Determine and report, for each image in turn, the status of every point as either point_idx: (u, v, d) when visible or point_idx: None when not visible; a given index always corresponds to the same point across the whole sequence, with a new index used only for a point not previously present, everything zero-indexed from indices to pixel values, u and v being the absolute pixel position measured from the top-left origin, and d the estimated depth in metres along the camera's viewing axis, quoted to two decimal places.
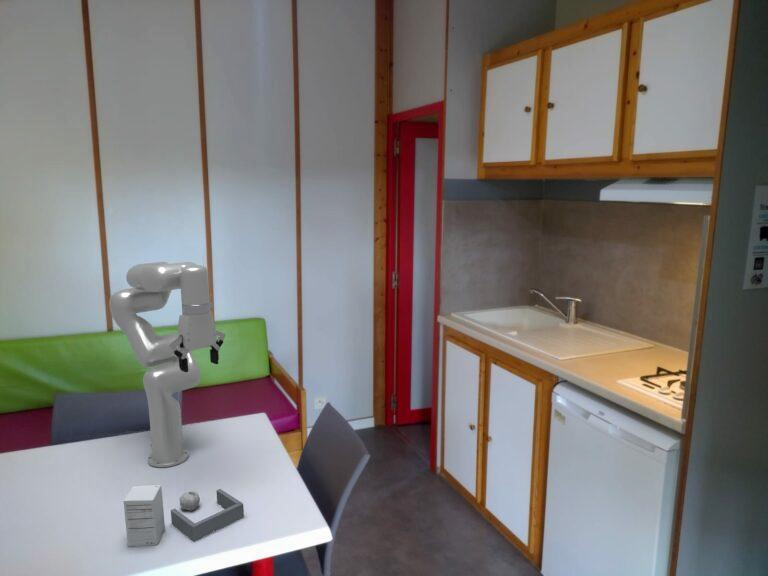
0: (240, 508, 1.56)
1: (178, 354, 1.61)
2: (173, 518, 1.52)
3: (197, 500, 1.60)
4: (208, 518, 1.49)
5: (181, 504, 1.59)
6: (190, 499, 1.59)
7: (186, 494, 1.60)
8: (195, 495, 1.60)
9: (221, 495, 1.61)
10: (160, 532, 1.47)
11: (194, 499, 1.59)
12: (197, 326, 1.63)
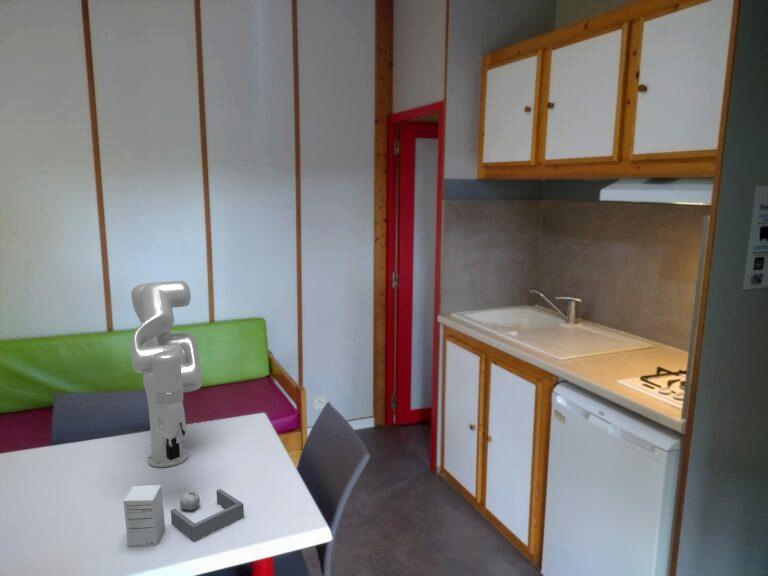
0: (240, 508, 1.56)
1: None
2: (173, 518, 1.52)
3: (197, 500, 1.60)
4: (208, 518, 1.49)
5: (181, 504, 1.59)
6: (190, 498, 1.59)
7: (186, 494, 1.60)
8: (195, 495, 1.60)
9: (221, 495, 1.61)
10: (160, 532, 1.47)
11: (194, 499, 1.59)
12: None
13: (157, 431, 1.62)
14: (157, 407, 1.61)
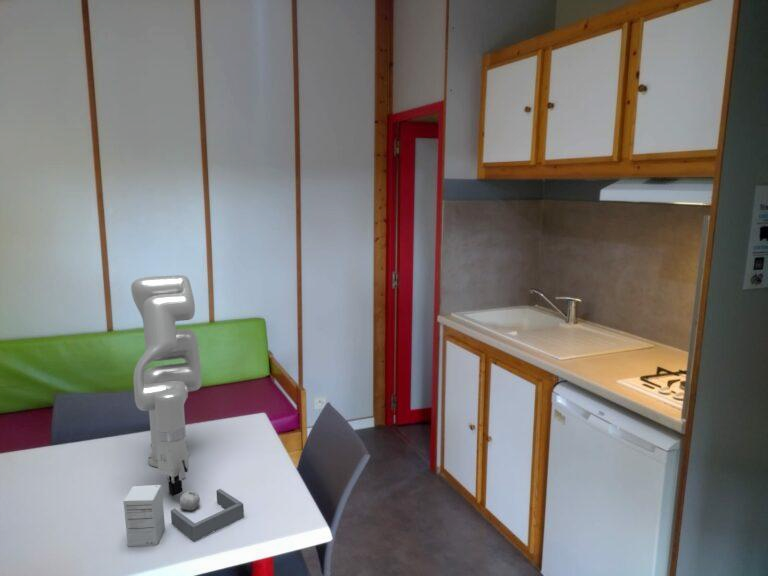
0: (240, 508, 1.56)
1: None
2: (173, 518, 1.52)
3: (197, 500, 1.60)
4: (208, 518, 1.49)
5: (181, 504, 1.59)
6: (190, 498, 1.59)
7: (186, 494, 1.60)
8: (195, 495, 1.60)
9: (221, 495, 1.61)
10: (160, 532, 1.47)
11: (194, 499, 1.59)
12: None
13: (160, 467, 1.65)
14: (160, 444, 1.63)
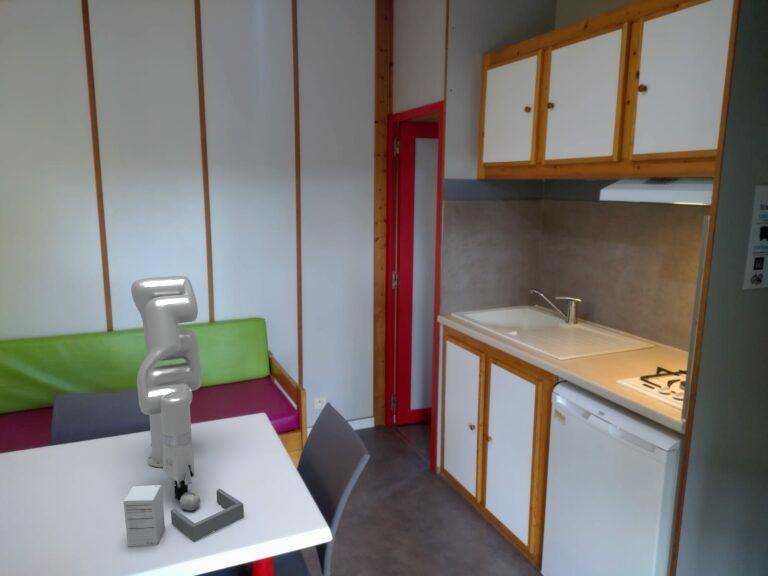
0: (240, 508, 1.56)
1: None
2: (173, 518, 1.52)
3: (197, 500, 1.60)
4: (208, 518, 1.49)
5: (181, 504, 1.59)
6: (191, 499, 1.59)
7: (186, 494, 1.60)
8: (196, 495, 1.60)
9: (221, 495, 1.61)
10: (160, 532, 1.47)
11: (195, 499, 1.59)
12: None
13: (165, 472, 1.63)
14: (166, 448, 1.61)
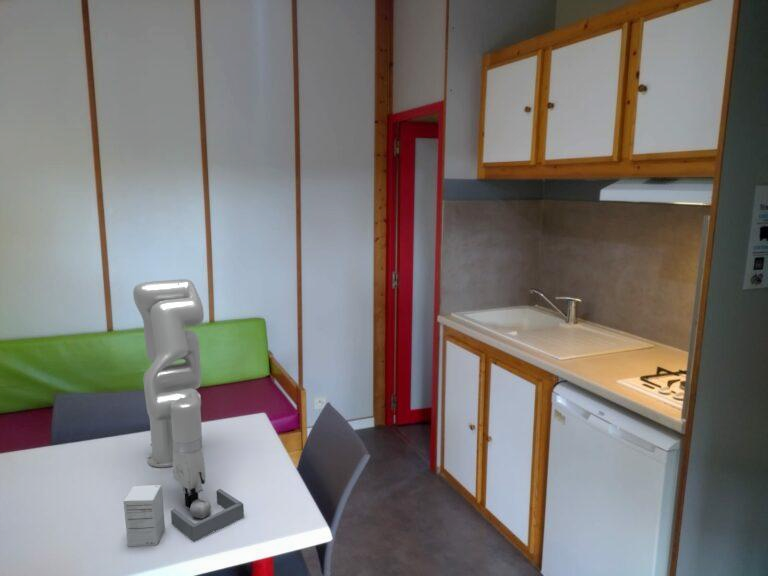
0: (240, 508, 1.56)
1: None
2: (173, 518, 1.52)
3: (208, 508, 1.56)
4: (208, 518, 1.49)
5: (191, 512, 1.55)
6: (201, 506, 1.55)
7: (197, 501, 1.56)
8: (206, 502, 1.56)
9: (221, 495, 1.61)
10: (160, 532, 1.47)
11: (205, 507, 1.55)
12: None
13: (176, 479, 1.59)
14: (176, 455, 1.57)
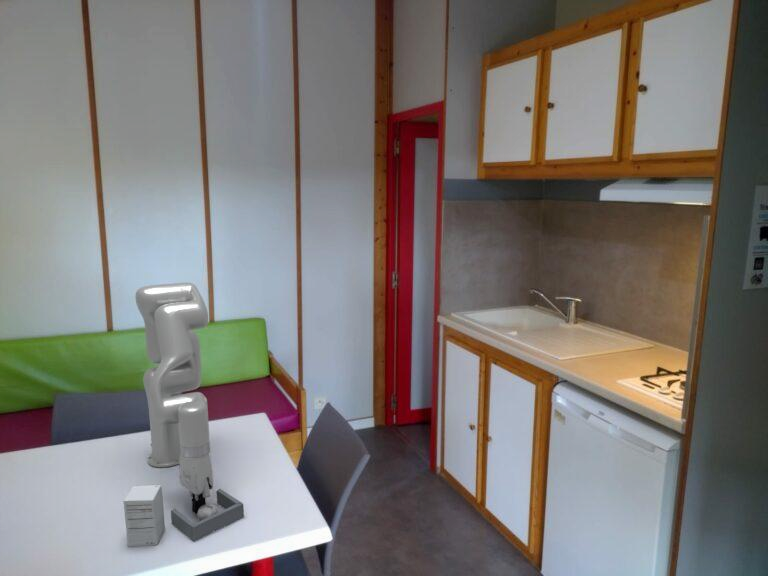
0: (240, 508, 1.56)
1: None
2: (173, 518, 1.52)
3: None
4: (208, 518, 1.49)
5: (198, 517, 1.53)
6: (208, 512, 1.52)
7: (204, 507, 1.54)
8: (213, 508, 1.54)
9: (221, 495, 1.61)
10: (160, 532, 1.47)
11: (212, 513, 1.53)
12: None
13: (183, 484, 1.56)
14: (183, 460, 1.54)
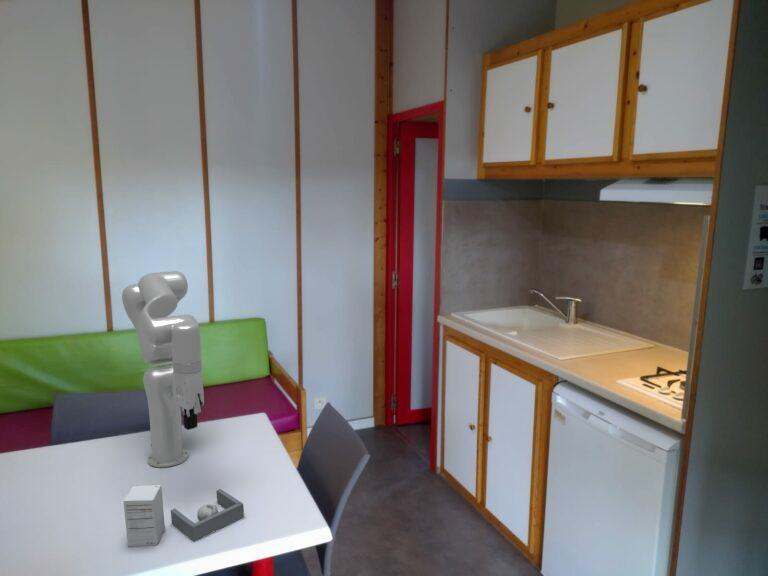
0: (240, 508, 1.56)
1: None
2: (173, 518, 1.52)
3: None
4: (208, 518, 1.49)
5: (198, 518, 1.53)
6: (208, 512, 1.52)
7: (204, 507, 1.54)
8: (213, 508, 1.54)
9: (221, 495, 1.61)
10: (160, 532, 1.47)
11: (212, 513, 1.53)
12: None
13: (175, 401, 1.62)
14: (175, 377, 1.60)
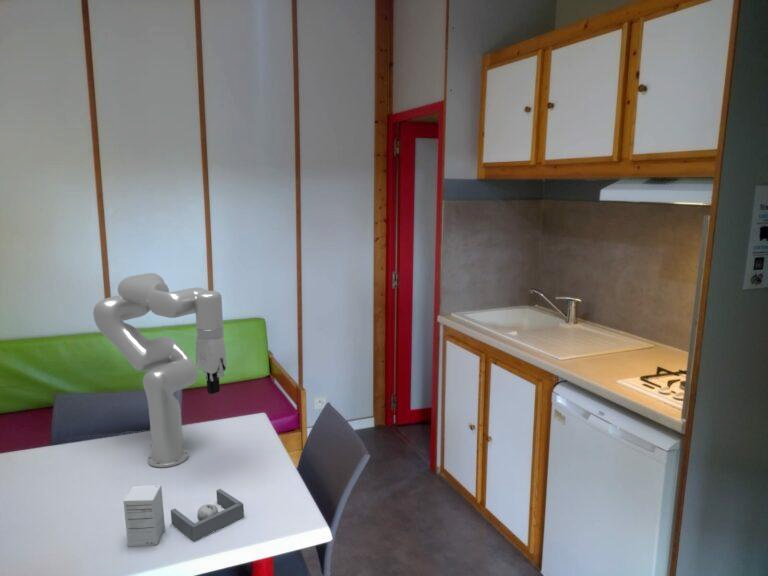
0: (240, 508, 1.56)
1: None
2: (173, 518, 1.52)
3: None
4: (208, 518, 1.49)
5: (198, 518, 1.53)
6: (208, 512, 1.52)
7: (204, 507, 1.54)
8: (213, 508, 1.54)
9: (221, 495, 1.61)
10: (160, 532, 1.47)
11: (212, 513, 1.53)
12: None
13: (199, 367, 1.72)
14: (199, 343, 1.70)
